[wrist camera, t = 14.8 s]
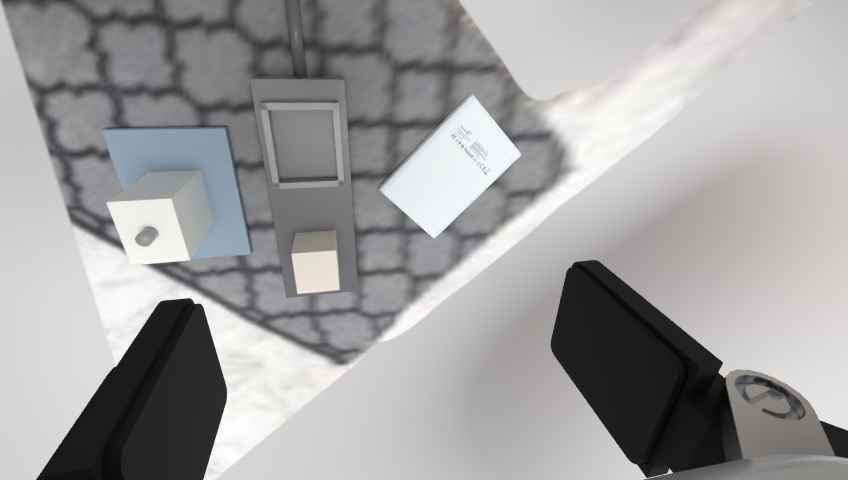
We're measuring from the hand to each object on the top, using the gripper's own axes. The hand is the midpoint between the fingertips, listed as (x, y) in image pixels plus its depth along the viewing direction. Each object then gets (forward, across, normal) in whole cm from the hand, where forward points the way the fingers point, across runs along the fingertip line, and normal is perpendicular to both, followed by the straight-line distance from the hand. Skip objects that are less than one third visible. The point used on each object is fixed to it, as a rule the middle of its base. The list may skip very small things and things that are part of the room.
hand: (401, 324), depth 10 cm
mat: (+28, +15, +6) cm, 33 cm away
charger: (+28, +15, +6) cm, 32 cm away
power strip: (+28, +4, +3) cm, 29 cm away
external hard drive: (+29, -10, +5) cm, 31 cm away
